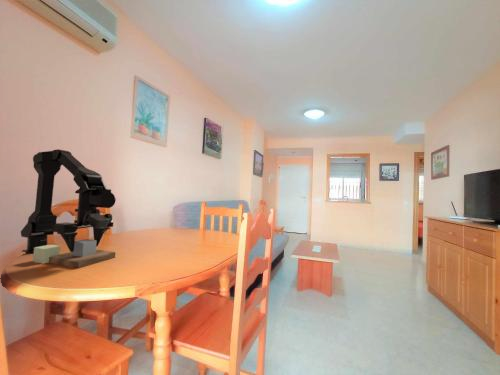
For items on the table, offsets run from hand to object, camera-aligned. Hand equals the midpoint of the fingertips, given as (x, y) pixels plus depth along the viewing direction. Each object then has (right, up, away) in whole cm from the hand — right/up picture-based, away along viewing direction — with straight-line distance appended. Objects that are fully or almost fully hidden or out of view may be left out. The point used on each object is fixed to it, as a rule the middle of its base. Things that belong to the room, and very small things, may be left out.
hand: (84, 248), depth 84 cm
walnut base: (0, -4, 0) cm, 4 cm away
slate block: (0, -2, 0) cm, 2 cm away
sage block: (-11, -4, -3) cm, 12 cm away
